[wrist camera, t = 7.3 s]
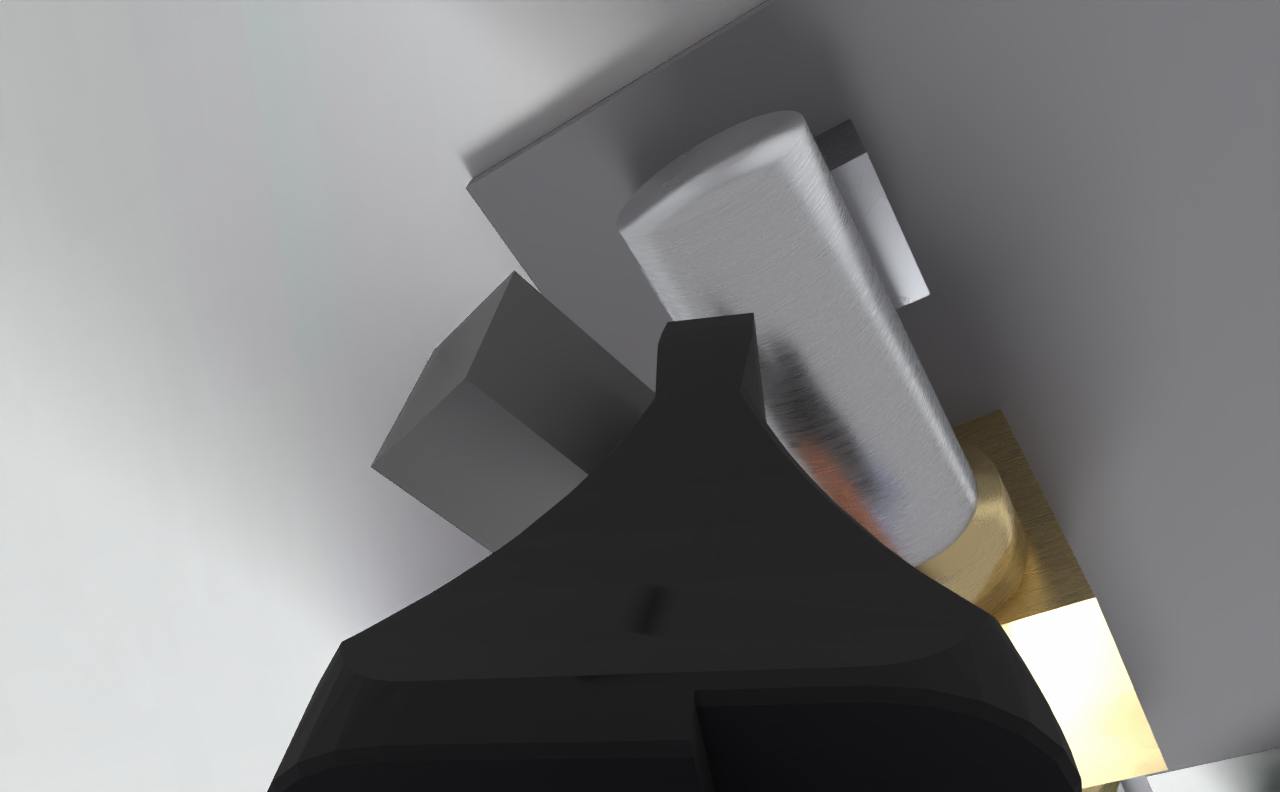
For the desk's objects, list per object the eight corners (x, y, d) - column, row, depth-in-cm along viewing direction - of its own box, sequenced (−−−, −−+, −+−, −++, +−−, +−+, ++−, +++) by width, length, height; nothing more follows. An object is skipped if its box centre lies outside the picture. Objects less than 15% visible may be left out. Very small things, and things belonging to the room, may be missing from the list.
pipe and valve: (982, 794, 27) (1038, 991, 23) (591, 173, 16) (543, 307, 12) (1151, 756, 25) (1249, 961, 21) (837, 32, 15) (896, 123, 10)
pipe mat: (919, 810, 29) (922, 824, 28) (472, 179, 17) (465, 188, 17) (1554, 669, 23) (1570, 684, 22) (1536, -468, 11) (1568, -479, 11)
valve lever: (1077, 735, 16) (1152, 918, 13) (978, 775, 17) (1028, 953, 14) (529, 248, 11) (469, 383, 8) (433, 344, 12) (352, 493, 9)
